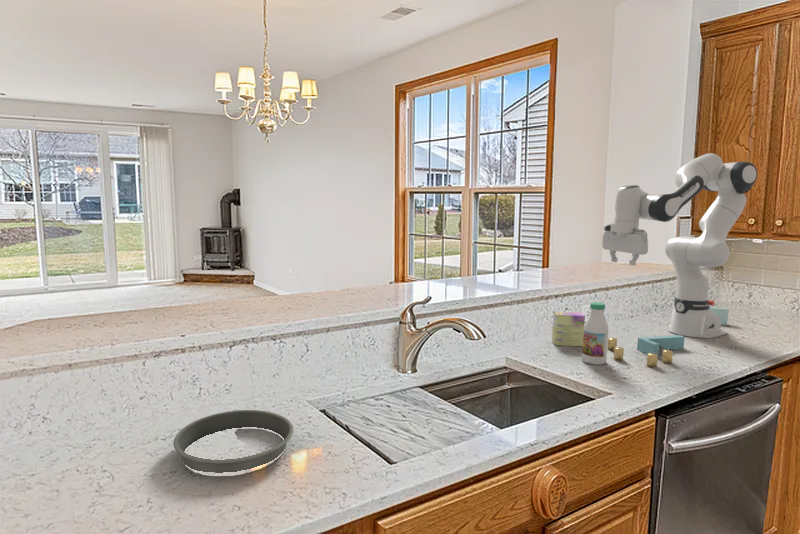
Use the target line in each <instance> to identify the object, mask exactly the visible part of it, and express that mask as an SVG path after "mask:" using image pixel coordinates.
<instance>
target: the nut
mask: <svg viewBox="0 0 800 534" xmlns="http://www.w3.org/2000/svg"><path fill="white" fill-rule="evenodd" d="M663 350H664V348H663V347H661V346H659V353H658V356H659V355H663Z"/></svg>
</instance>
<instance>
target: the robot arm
mask: <svg viewBox="0 0 800 534" xmlns="http://www.w3.org/2000/svg"><path fill="white" fill-rule="evenodd" d="M757 179H758V169H757V167H756V165H755V164H754V163H753V162H749V161H735V162H734V161H733V162H726V163H723V160H722V158H721V157H720V156H719V155H718V154H716V153H711V152H710V153H704V154H702V155H700V156H698V157H696V158H693V159H692V160H689V162H687V163H685V164H683V166H681V167H679V169H678V170H677V171H676V172H675V176H674V181H675V184H676V187H677V188H676V189H675V190H673V192H671V193H663V194H649V193H648V192H646V191H644V190H643V189H641V187H640V186H639V185H637V184H632V185H624V186H621V187H619V188H618V189H617V192H616V195H615V204H614V210H615V214H614V218H613V222H611V223H609V224H607V225H604V226H603V231H604V233H603V235H602V243H601V245H602V248H603V250H608V251H609V255H610V258H611V259H610V260H611V261H610V262H612V263H618V259H619V257H617V255H616V254H617V252H621V253H625V254H626V253H627V254H631V257H632V258H631V259H630V260H629V264H628V265H629V266H634V267H635V266H636V265H637V261H638V259H639V258H640V255H647V254H648V252H649V240H648V233H647V231H645V229H640V228H639V224H640V220H648V221H658V222H664V223H667V222H670V221H671V220H673V219H674V218H675V217H676V216H677V215H678V213H679V212H680V210H681V209H682V208H683V207H684V206H686V204H688V203H689V202H690V201H692V199H693V198H695V197H696V196H697V195H698V194H700V192H702V190H704V191H707V192H713V193H715V192H717V196H716V198H715V200H714V201H713V202H712V203H711V205H710V206H709V207H708V209H707V210H706V212H705V213H704V214H703V216H702V217H701V218H700V220H699V229H700V230H701V231H702V233H701V234H700V236H697V237H694V236H687V235H685V236H684V235H683V236H676V237H672V238H670V239H669V240H668V241H667V242H666V244H665V248H664V249H665V250H664V251H665V255H666V257H667V258H668V259H669V260H670V261H671V263H672V264H673V267H674V270H675V273H676V294H675V297H674V301H673V302H674V304H673V305H674V308H673V309H672V313H671V318H670V322H669V323H670V324H668V332H671V333H673V334H674V335H675V334H676V335H681V336H684V337H692V338H700V339H701V338H702V339H713V338H717V337H720V336H723V335H727V334H728V331H727V330H725V329H723V328H721V326H722V324H721V321H720V318H719V317H718V316H716V315H715V314H714V313H713V312H712V311H711V310H710V306H711V307H712V306H715V304H716V302H715V300H711V299H708V295H709V287H710V286H709V283H710V282H709V279H708V278H707V277H706V276H705V275H704V274H703V273H702V270H701V268H700V267H706V268H715V267H717V268H718V267H722V266H724V265H725V264H726V263H727V262H728V260H729V258H730V253H731V252H730V248H729V246H728V244H727V242H726V240H727V236H728V234H729V233H730V231H731V229H732V228H733V227H734V224H736V222H737V220H738V219H739V217H740V216H741V214H742V212H743V211H744V208H745V206H746V204H747V196H746V195H745V194H747V193H748V192H750V191H751V189H752V187H753V186H754V184H755V183H756V180H757Z"/></svg>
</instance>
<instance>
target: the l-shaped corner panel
mask: <svg viewBox="0 0 800 534" xmlns="http://www.w3.org/2000/svg"><path fill="white" fill-rule="evenodd" d="M710 310H711V311H712V312H713V313H714V314H715V315H716V316H718V317H719V318H720V321H721V325H723V326H724V325H725V326H727V325H728V319H729V308H721V307H712V306H711V307H710Z"/></svg>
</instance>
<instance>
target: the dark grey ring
mask: <svg viewBox="0 0 800 534" xmlns="http://www.w3.org/2000/svg"><path fill="white" fill-rule="evenodd" d="M242 427H257V428H264V429H269V430H272V431H274V432H276V433H278V434H280V435H281V436H282V437H283V438H284V441H283V440H282V441H281V442H280V443H278V444H277V445H276V446H274V447H272V448H270V449H267V450H265V451H261V452H262V453H259V454H256V455H252V456H248V457H243V458H237V459H226V460H211V459H203V458H198V457H194V456H191V455H188V454H186V453H185V452H184V451H185V449H186V448H187V447H188V446H189V445H191V444H192V443H193V442H195V441H197V440H198V439H200V438H202V437H204V436H206V435H209V434H213V433H215V432H218V431H223V430H226V429H232V428H242ZM293 435H294V426H293V424H292V422H291V421H290V420H289V419H288V418H286V417H285V416H283V415H280V414H278V413H275V412H271V411H267V410H259V409H240V410H239V409H237V410H230V411H224V412H219V413H215V414H211V415H210V414H209V415H207V416H204V417H201V418H199V419H197V420H195V421H194V420H193V421H192V422H191V423H188V424H187V425H186V426H184V427H183V428H181V429H180V431H178V432H177V433H176V435H175V437H174V439H173V448H174V450H175V451H176V453H178V455H180V457H181V460H182V463H183V462H184V464H185V465H187V466H188V467H190V468H191V469H194V470H197V471H203V472H215V473H223V472H237V471H241V470H247V469H251V468H254V467H257V466H260V465H263V464H266V463H268V462H270V461H272V460H274V459H275V458H277V457H278V456H279V455H280V454H281V453H282V452H283V451H284V449H285V450H286V448H287V445H288V442H289V441H290V439H291V438H292V436H293ZM284 452H285V451H284ZM184 464H183V465H184ZM185 465H184V466H185Z"/></svg>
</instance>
